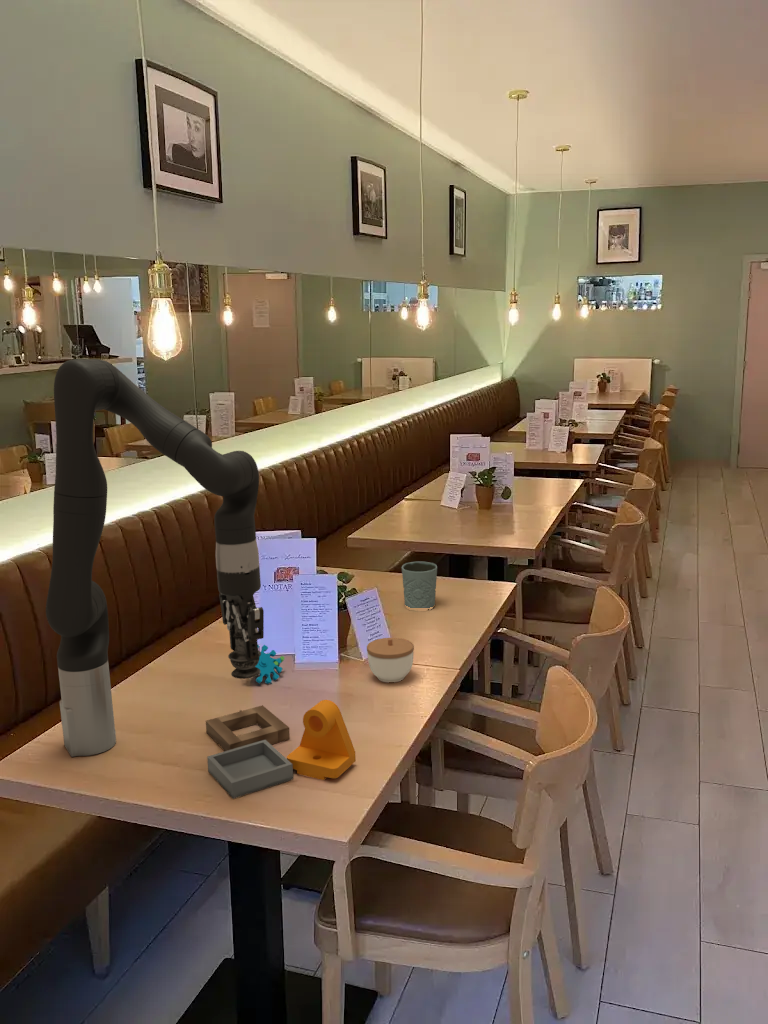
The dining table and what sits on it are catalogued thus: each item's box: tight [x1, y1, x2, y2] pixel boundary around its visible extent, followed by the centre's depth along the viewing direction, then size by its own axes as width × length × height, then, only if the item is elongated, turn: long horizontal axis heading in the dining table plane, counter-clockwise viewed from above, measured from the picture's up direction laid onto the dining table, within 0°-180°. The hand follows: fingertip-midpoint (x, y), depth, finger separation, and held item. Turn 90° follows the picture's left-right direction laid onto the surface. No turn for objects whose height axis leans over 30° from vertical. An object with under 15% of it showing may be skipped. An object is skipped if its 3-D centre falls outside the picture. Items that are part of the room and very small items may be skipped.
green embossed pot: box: [401, 561, 438, 608], centre depth 252 cm, size 10×10×12 cm
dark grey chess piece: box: [227, 618, 261, 680], centre depth 160 cm, size 6×6×12 cm
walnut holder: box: [205, 704, 291, 752], centre depth 177 cm, size 12×12×2 cm
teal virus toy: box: [255, 644, 285, 685], centre depth 206 cm, size 11×6×10 cm
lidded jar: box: [366, 637, 415, 684], centre depth 203 cm, size 11×11×9 cm
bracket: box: [286, 699, 357, 781], centre depth 162 cm, size 11×7×12 cm, turn 63°
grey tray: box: [206, 740, 294, 800], centre depth 161 cm, size 12×12×3 cm
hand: (244, 654), depth 161 cm, fingers closed on dark grey chess piece, 6 cm apart
